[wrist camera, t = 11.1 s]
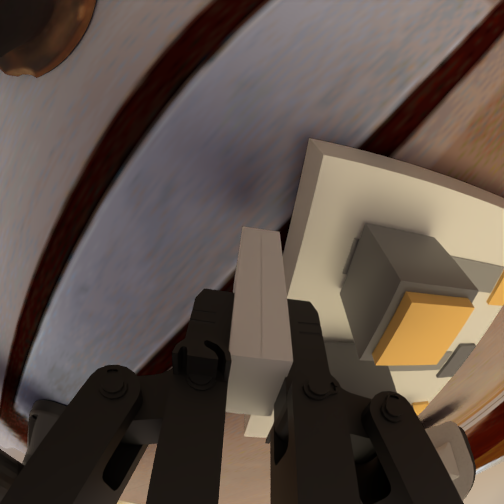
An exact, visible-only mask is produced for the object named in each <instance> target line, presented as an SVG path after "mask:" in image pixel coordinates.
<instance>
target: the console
mask: <svg viewBox="0 0 504 504" xmlns="http://www.w3.org/2000/svg"><path fill="white" fill-rule="evenodd" d="M365 223H369V224H374V225H379V226H384V227H389V228H394V229H399V230H403V231H408V232H413V233H418V234H422V235H427V236H431V237H434V238H435V239H436V240H437V241H438V242H439V243H440V244H441V245H442V246H443V248H444V249H445V250H446V251H447V252H448V253H449V255H450V256H451V257H452V258H453V259H454V260H455V262H456V263H457V264H458V265H459V266H460V268H461V269H462V270H463V271H464V273H465V274H466V275H467V276H468V277H469V279H470V280H471V281H472V283H473V284H474V285H475V286H476V288H477V289H478V290H479V292H478V293H477V295H476V297H475V299H474V300H473V302H472V304H473V306H474V307H475V308H474V310H473V312H472V313H471V315H470V317H469V318H468V320H467V321H466V323H465V325H464V326H463V328H462V329H461V331H460V332H459V334H458V335H457V337H456V338H455V340H454V341H453V343H452V344H451V346H450V347H449V348H448V350H447V351H446V353H445V354H444V355H443V357H442V358H441V359H440V361H439V362H438V364H437V365H395V366H388V367H389V370H390V373H391V376H392V379H393V382H394V385H395V388H396V391H397V393H399V394H400V395H402V396H403V397H405V398H406V399H407V400H408V402H409V403H410V404H411V405H413V408H414V411H415V413H416V415H417V416H418V415H419V414H420V413H421V412H422V411H423V410H424V409H425V408H426V406H427V405H428V404H429V403H430V402H431V401H432V400H433V398H434V397H435V396H436V395H437V394H438V393H439V392H440V390H441V389H442V388H443V387H444V386H445V385H446V383H447V382H448V381H449V380H450V379H451V377H453V376H454V374H455V373H456V372H457V371H458V369H459V368H460V367H461V365H462V364H463V363H464V362H465V360H466V359H467V358H468V356H469V355H470V354H471V352H472V351H473V350H474V348H475V347H476V345H477V344H478V342H479V341H480V339H481V338H482V336H483V335H484V333H485V332H486V331H487V329H488V328H489V326H490V325H491V323H492V321H493V320H494V318H495V317H496V315H497V314H498V312H499V310H500V309H501V307H502V306H503V305H504V198H502V197H500V196H498V195H495V194H493V193H490V192H488V191H486V190H483V189H481V188H478V187H476V186H473V185H470V184H468V183H465V182H462V181H460V180H457V179H454V178H452V177H449V176H446V175H443V174H440V173H437V172H434V171H431V170H428V169H425V168H422V167H419V166H416V165H413V164H409V163H406V162H403V161H399V160H396V159H393V158H389V157H386V156H382V155H378V154H375V153H371V152H367V151H363V150H359V149H355V148H351V147H347V146H343V145H339V144H335V143H330V142H326V141H321V140H316V139H312V138H309V141H308V146H307V150H306V155H305V160H304V164H303V169H302V174H301V178H300V183H299V187H298V192H297V196H296V201H295V205H294V210H293V214H292V218H291V223H290V227H289V231H288V236H287V240H286V244H285V248H284V252H283V266H284V275H285V284H286V293H287V299H294V300H302V301H310V302H311V303H312V305H313V306H314V307H315V309H316V310H317V312H318V315H319V319H320V326H321V329H322V336H323V339H324V341H325V342H339V343H354V339H353V336H352V333H351V329H350V326H349V323H348V319H347V316H346V313H345V309H344V306H343V303H342V300H341V297H340V291H341V289H342V286H343V283H344V281H345V278H346V275H347V273H348V270H349V267H350V265H351V262H352V259H353V256H354V253H355V251H356V248H357V245H358V242H359V239H360V236H361V233H362V230H363V227H364V224H365ZM273 423H274V409H273V412H272V414H271V416H259V415H248V414H245V418H244V436H248V437H261V438H267V436H268V434H269V432H270V430H271V427H272V425H273Z"/></svg>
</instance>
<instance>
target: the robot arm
mask: <svg viewBox="0 0 504 504" xmlns="http://www.w3.org/2000/svg"><path fill="white" fill-rule="evenodd" d="M172 364H173V368H172V369H170V370H169V371H166V372H164V373H161V374H156V375H147V376H136V374H135V373H134V372H133V371H131V370H130V369H128V368H127V367H123V366H120V365H107V366H104V367H102V368H99V369H97V370H96V371H95V372H94V373H93V374H92V375H91V376H90V377H89V378H88V380H87V381H86V382H85V384H84V385H83V386H82V387H81V389H80V390H79V391H78V393H77V394H76V395H75V397H74V398H73V399H72V401H71V402H70V403H69V405H68V406H64V405H61V404H59V403H55V402H52V401H47V400H38V401H36V402H35V403H34V405H33V407H32V409H31V411H30V415H29V426H28V446H27V452H26V455H25V457H24V460H23V463H20V462H18V461H17V460H15V459H14V458H12V457H11V456H9V455H8V454H7V453H5V452H4V451H2V450H1V449H0V504H117V502H118V500H119V498H120V496H121V494H122V493H123V491H124V489H125V487H126V485H127V483H128V482H129V480H130V478H131V476H132V474H133V472H134V471H135V469H136V467H137V465H138V463H139V461H140V459H141V458H142V456H143V454H144V452H145V450H146V448H147V447H148V445H149V444H156V443H158V444H157V449H156V453H155V458H154V463H153V469H152V474H151V479H150V484H149V490H148V495H147V501H146V504H218V499H219V486H220V473H221V461H222V448H223V436H224V424H225V412H228V413H238V414H248V415H259V416H271V414H272V412H273V409H274V423H273V425H272V427H271V430H270V432H269V434H268V436H267V439H266V443H268V444H269V443H270V454H271V504H464V503H463V501H462V499H461V497H460V495H459V493H458V491H457V489H456V487H455V485H454V483H453V481H452V479H451V477H450V475H449V473H448V471H447V469H446V468H445V466H444V464H443V462H442V460H441V458H440V456H439V454H438V452H437V451H436V449H435V447H434V445H433V443H432V441H431V440H430V438H429V436H428V434H427V432H426V431H425V429H424V427H423V425H422V423H421V422H420V420H419V418H418V416H417V415H416V413H415V411H414V409H413V408H412V406H411V404H410V403H409V402H408V400H407V399H406V398H405V397H403V396H402V395H400V394H399V393H396V392H392V391H382V392H380V393H378V394H376V395H375V396H374V397H373V399H370V398H366V397H363V396H360V395H356V394H353V393H350V392H348V391H346V390H344V389H343V388H341V386H340V384H339V382H338V381H337V380H336V379H335V378H334V377H333V376H332V375H331V373H330V370H329V365H328V360H327V355H326V349H325V344H324V339H323V336H322V329H321V326H320V319H319V315H318V312H317V310H316V309H315V307H314V306H313V305H312V303H311V302H310V301H302V300H294V299H287V293H286V284H285V275H284V266H283V257H282V248H281V240H280V232H277V231H271V230H264V229H257V228H250V227H244V226H243V227H242V233H241V240H240V246H239V253H238V260H237V266H236V273H235V280H234V288H233V293H232V292H225V291H218V290H211V289H204V290H203V291H202V292H201V293H200V294H199V295H198V296H197V297H196V298H195V302H194V306H193V310H192V313H191V317H190V321H189V325H188V329H187V333H186V337H185V339H183V340H182V341H180V342H179V343H178V344H176V346H175V348H174V350H173V351H172Z"/></svg>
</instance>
